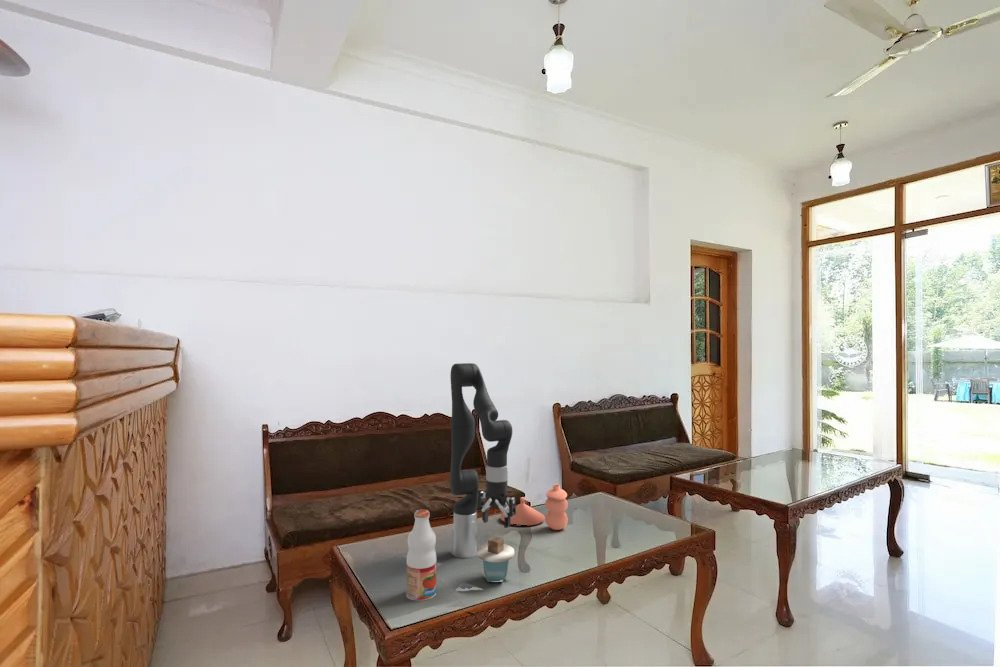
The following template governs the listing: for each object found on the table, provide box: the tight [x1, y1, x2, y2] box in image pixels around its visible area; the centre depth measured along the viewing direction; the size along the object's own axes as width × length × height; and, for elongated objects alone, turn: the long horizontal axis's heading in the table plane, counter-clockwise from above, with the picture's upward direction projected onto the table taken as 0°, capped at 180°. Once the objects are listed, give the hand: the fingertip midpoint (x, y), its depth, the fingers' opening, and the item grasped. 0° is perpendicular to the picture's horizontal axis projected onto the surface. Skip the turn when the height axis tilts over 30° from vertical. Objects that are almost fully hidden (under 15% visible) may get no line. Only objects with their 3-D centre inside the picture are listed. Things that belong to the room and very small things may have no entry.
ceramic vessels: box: [500, 483, 569, 531], centre depth 226 cm, size 35×21×19 cm, turn 48°
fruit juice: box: [405, 509, 437, 601], centre depth 157 cm, size 9×9×28 cm
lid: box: [476, 535, 515, 562], centre depth 171 cm, size 13×13×5 cm
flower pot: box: [482, 560, 510, 583], centre depth 170 cm, size 9×9×9 cm
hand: (496, 524), depth 171 cm, fingers open, 8 cm apart
